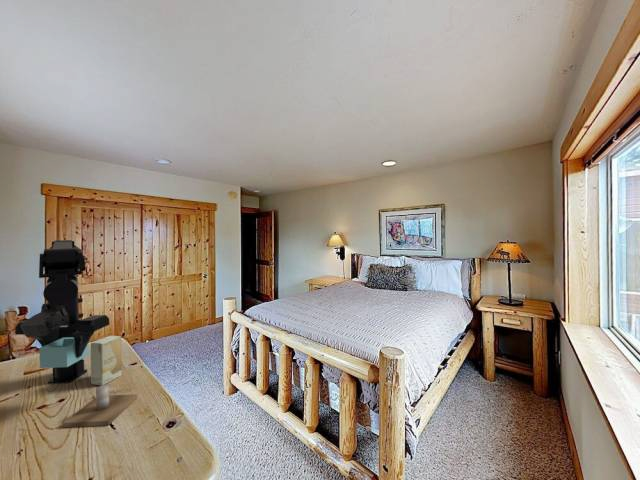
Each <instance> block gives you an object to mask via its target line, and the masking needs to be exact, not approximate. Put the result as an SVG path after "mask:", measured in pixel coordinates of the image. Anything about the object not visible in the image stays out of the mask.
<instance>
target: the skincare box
mask: <svg viewBox="0 0 640 480" xmlns="http://www.w3.org/2000/svg"><path fill="white" fill-rule="evenodd" d="M122 359H123V358H122V336H121V335H120V336H119V335H108V336H107V337H102V338H100V339H97V340H94V341H92V342H90V384H91V385H95V386H96V385H97V386H101V385H107V383H110V382H111V381H113V380H115V379H117V378H119V377H121V376H122V375H123V371H122V370H123V369H122V368H123V367H122V361H123V360H122Z"/></svg>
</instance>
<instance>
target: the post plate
mask: <svg viewBox="0 0 640 480" xmlns="http://www.w3.org/2000/svg"><path fill="white" fill-rule="evenodd" d="M109 391H110V390H109V384H104V385H98V386H97V387H96V388H95V398H93V399H92V400H90V402H88V403H87V404H85V405H84V406H83V407H82V408H80V409H79V410H78V411H76V412H75V413H74V414H72V415H71V416H70V417H69V418H67V419H66V420H64V421H63V422H62V428H74V427H75V428H76V427H98V426H99V427H100V426H110V425H111V424H112V423H113V422H114V421H115V420H116V419H117V418H118V417H119V416H120V415H122V414H123V412H124V411H126V409H128V408H129V406H130V405H132V404H133V402H135V401H136V400H137V399H138V394H136V393H135V394H110V392H109Z"/></svg>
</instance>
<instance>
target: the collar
mask: <svg viewBox="0 0 640 480" xmlns="http://www.w3.org/2000/svg"><path fill="white" fill-rule="evenodd" d="M38 349H39V350H38V352H39V353H38V354H39V368H40V369H48V368H49V369H51V368H52V369H53V368H56V367H68V366H70V365H72V364H74V363H76V362H77V361H79V360H81V359H83V360H84V359H85V358H87V357H88V356H90V354H89V353H90V351H89V347H88V344H87V346H86V348H85V350H84V352H83V354H82V356H80V357H78V358H77V357H76V351H75V339H74V338H73V337H68V338H61V339H59V340H57V341H54V342H52V343H50V344H47V345H45V346H43V347H42V346H41V347H39V348H38Z"/></svg>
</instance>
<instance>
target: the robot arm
mask: <svg viewBox="0 0 640 480" xmlns="http://www.w3.org/2000/svg"><path fill="white" fill-rule="evenodd" d="M38 263H39V265H38V267H39V268H38V278H39V279H43V278H44V279H45V278H47V280H46V286H45V287H44V289H43V292H42V295H43V298H44V300H45V301H47V303H42V306H41V307H40V309H41V310H40V312H38V313H36V314H34V315H33V316H31V317H29V318H28V319H24V320H22V321H19V322H17V324H16V325H15V327H14V330H15V331H14V333H15V336H16V335H17V336H19V335H25V337H26V338H31V339H34V340H36V341H38V343H39V344H40V346H41V347H43V346H45V345H47V344H50V343H52V342H54V341H57V340H59V339H61V338H68V337H73V338H74V339H75V351H76V357H77V358H78V357H80V356H82V354H83V352H84V350H85V348H86V346H87V344H88V347H89V342H90V340H91V338H92V337H93V335H94V333H95V332H96V331H98V330H101V329H103V328H106V327H107V326H110V317H109V316H108V315H106V314H96V315H95V314H93V315H90V316H87V317H86V318H84V313H80V303H83V302H84V301H83V300H84V299H83V298H82V297H80V298H79V280H78V277H77V276H80V275H83V272H84V271H85V272H86V256H85V255H84V254H83V251H82V249H81V248H79V246H77V245H76V244H75V240H72V239H67V240H63V239H61V240H58V239H57V240H54V241H53V240H52V241H51V246H50V247H49V248H44V249H43V253H39V262H38ZM87 372H88V369H85V360H84V358H83V359H81V360H79V361H77V362H76V363H74V364H72V365H70V366H68V367H56V368H52V378H51V379H49V380H47V383H48V384H58V383H59V384H60V383H71V382H72V381H74V380H76V379H77V378H79V377H81V376H82V375H84V374H86V373H87Z"/></svg>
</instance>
